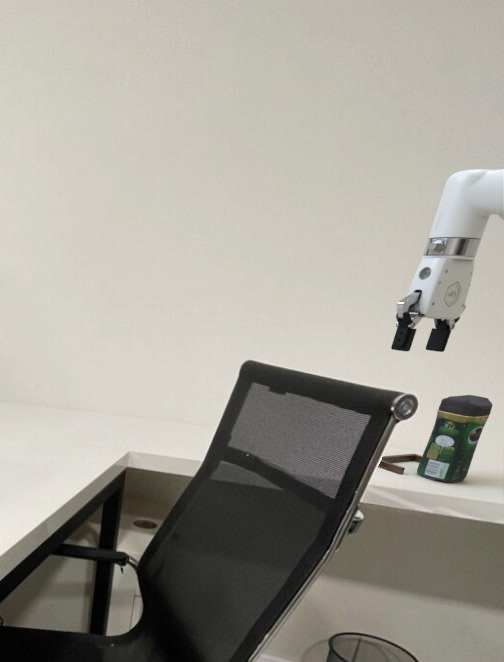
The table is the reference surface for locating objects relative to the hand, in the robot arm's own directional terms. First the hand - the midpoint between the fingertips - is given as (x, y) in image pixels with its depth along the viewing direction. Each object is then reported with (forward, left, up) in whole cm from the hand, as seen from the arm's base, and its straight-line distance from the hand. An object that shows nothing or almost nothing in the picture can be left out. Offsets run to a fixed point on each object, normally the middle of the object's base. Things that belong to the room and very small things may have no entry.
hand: (417, 350), depth 104 cm
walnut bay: (+10, -25, -28) cm, 39 cm away
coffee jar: (+2, -25, -28) cm, 38 cm away
